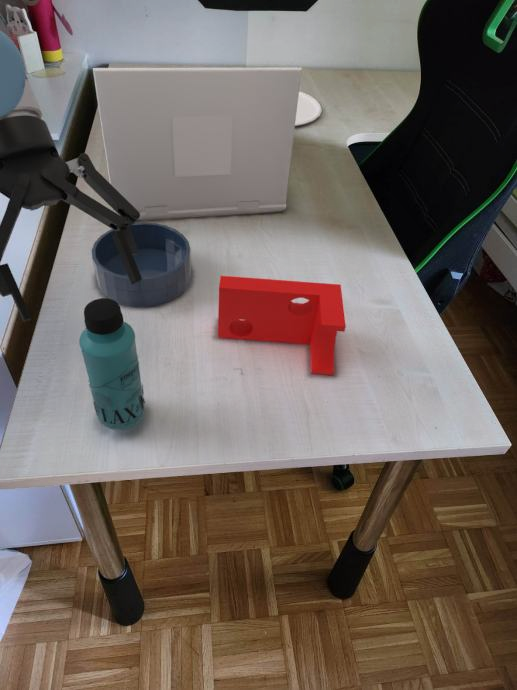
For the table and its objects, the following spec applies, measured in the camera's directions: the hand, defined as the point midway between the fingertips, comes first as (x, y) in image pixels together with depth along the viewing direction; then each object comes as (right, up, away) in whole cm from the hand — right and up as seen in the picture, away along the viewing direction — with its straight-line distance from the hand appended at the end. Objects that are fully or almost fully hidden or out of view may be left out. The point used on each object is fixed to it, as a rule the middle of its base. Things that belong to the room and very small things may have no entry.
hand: (84, 300), depth 62 cm
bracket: (+23, -6, +20) cm, 31 cm away
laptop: (+7, +30, +52) cm, 61 cm away
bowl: (+1, +7, +29) cm, 30 cm away
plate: (+24, +63, +86) cm, 109 cm away
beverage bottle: (+2, -15, +8) cm, 18 cm away
